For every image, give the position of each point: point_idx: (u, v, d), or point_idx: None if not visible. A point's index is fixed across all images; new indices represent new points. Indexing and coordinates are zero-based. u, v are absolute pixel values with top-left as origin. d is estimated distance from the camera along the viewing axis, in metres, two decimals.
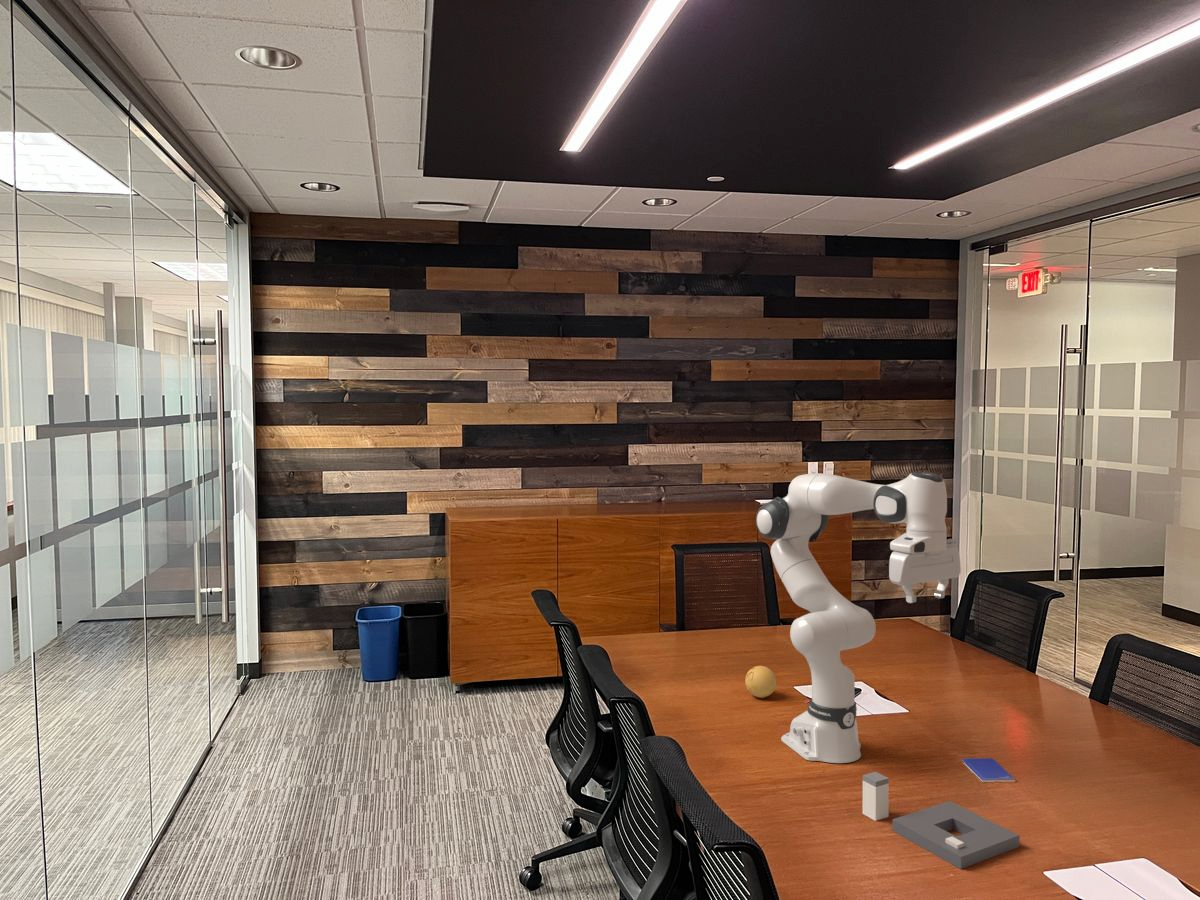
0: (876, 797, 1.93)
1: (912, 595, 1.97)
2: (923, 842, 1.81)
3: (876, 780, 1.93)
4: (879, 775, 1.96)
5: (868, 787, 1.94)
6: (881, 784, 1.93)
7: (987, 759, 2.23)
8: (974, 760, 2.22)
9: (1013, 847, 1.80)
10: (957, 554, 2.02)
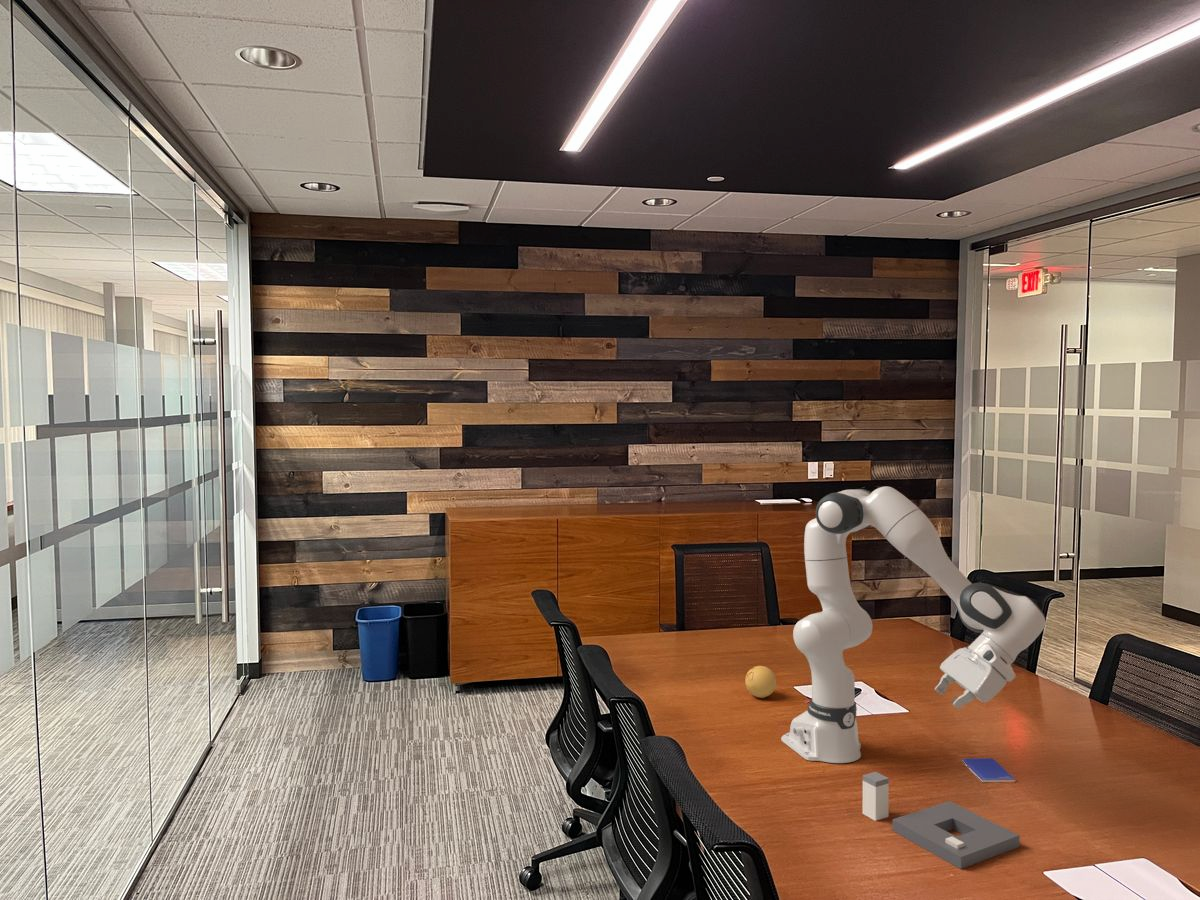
0: (876, 797, 1.93)
1: None
2: (923, 842, 1.81)
3: (876, 780, 1.93)
4: (879, 775, 1.96)
5: (868, 787, 1.94)
6: (881, 784, 1.93)
7: (987, 759, 2.23)
8: (974, 760, 2.22)
9: (1013, 847, 1.80)
10: None
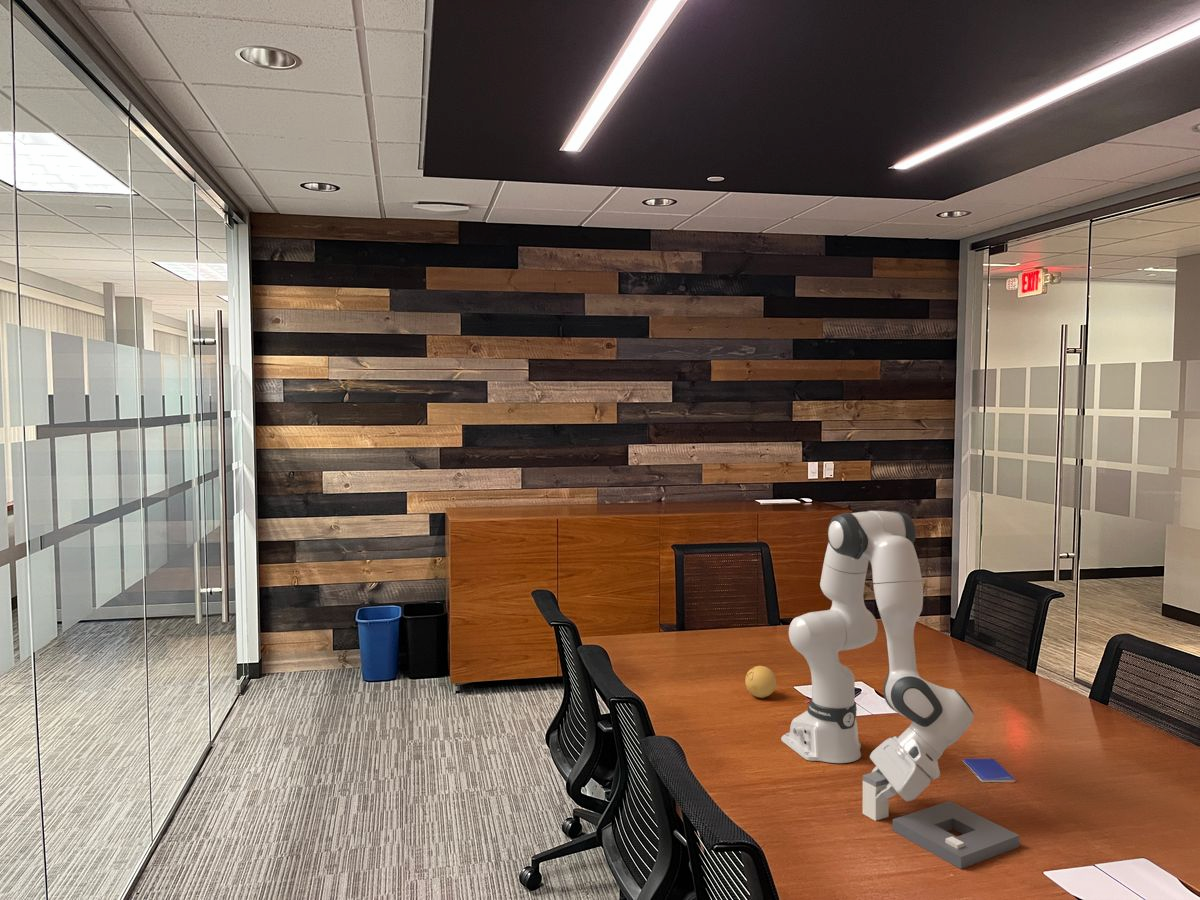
0: None
1: None
2: (923, 842, 1.81)
3: (876, 780, 1.93)
4: (879, 775, 1.96)
5: (868, 787, 1.94)
6: (881, 784, 1.93)
7: (988, 759, 2.23)
8: (975, 760, 2.22)
9: (1013, 847, 1.80)
10: None
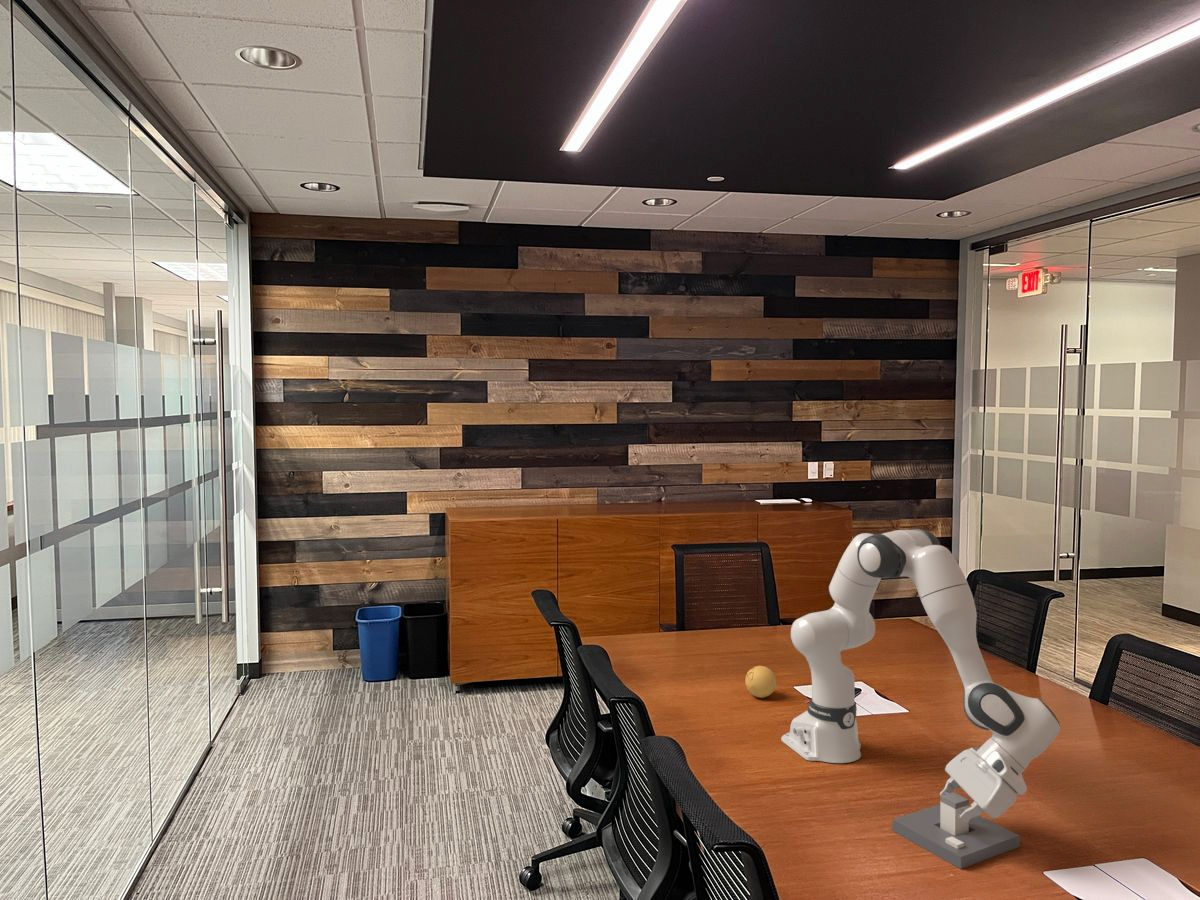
0: (956, 819, 1.82)
1: None
2: (923, 842, 1.81)
3: (956, 801, 1.82)
4: (958, 796, 1.85)
5: (947, 809, 1.84)
6: (961, 806, 1.82)
7: None
8: None
9: (1013, 847, 1.80)
10: None
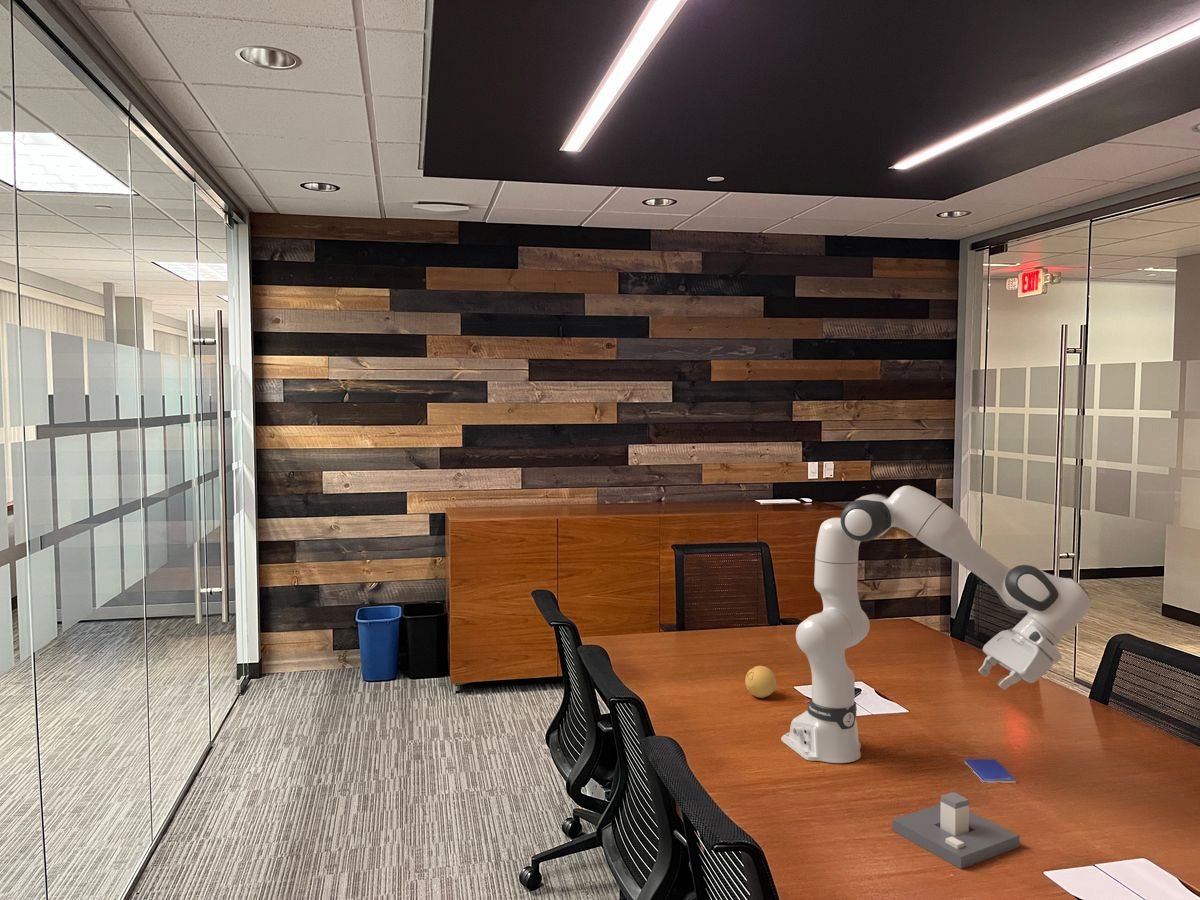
0: (956, 819, 1.82)
1: None
2: (923, 842, 1.81)
3: (956, 801, 1.82)
4: (958, 796, 1.85)
5: (947, 809, 1.84)
6: (961, 806, 1.82)
7: (990, 760, 2.22)
8: (976, 761, 2.22)
9: (1013, 847, 1.80)
10: None
